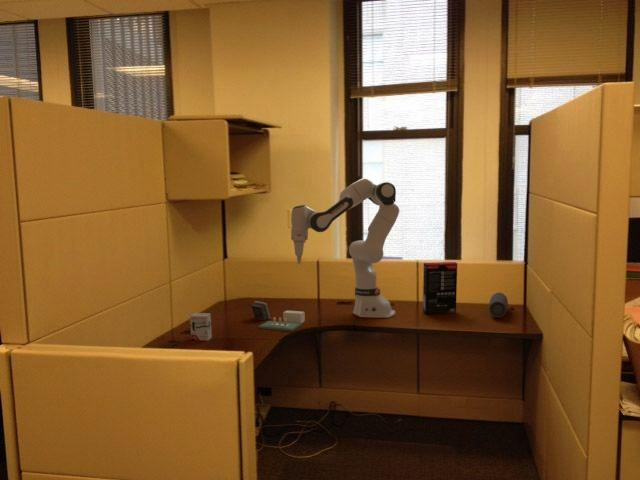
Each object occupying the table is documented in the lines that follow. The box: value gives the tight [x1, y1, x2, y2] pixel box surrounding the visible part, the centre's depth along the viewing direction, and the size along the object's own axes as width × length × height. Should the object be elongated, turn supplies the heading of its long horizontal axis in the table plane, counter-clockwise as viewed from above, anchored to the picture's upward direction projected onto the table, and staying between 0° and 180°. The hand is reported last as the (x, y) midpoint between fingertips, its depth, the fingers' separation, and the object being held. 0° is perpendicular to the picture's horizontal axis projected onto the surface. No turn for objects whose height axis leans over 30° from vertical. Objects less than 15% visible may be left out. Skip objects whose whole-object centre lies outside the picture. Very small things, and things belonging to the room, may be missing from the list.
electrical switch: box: [251, 300, 271, 321], centre depth 302 cm, size 9×5×9 cm, turn 47°
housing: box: [282, 310, 306, 324], centre depth 295 cm, size 10×5×5 cm, turn 67°
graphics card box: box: [422, 261, 458, 315], centre depth 305 cm, size 17×7×27 cm, turn 98°
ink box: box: [189, 312, 213, 342], centre depth 267 cm, size 8×5×12 cm, turn 81°
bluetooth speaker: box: [488, 292, 509, 318], centre depth 300 cm, size 23×9×10 cm, turn 161°
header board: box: [258, 316, 302, 332], centre depth 284 cm, size 18×10×5 cm, turn 67°
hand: (299, 262), depth 303 cm, fingers open, 8 cm apart
